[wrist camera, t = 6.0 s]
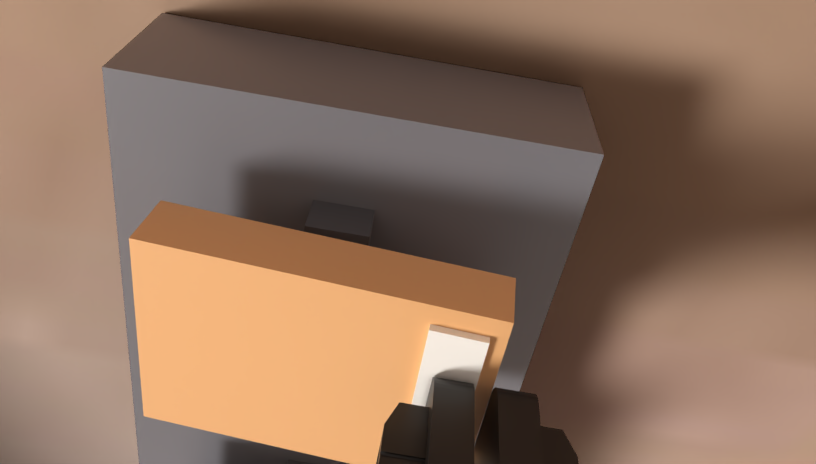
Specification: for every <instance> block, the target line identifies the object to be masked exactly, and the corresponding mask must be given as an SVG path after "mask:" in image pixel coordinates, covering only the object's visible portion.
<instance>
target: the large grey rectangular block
mask: <svg viewBox="0 0 816 464" xmlns="http://www.w3.org/2000/svg"><path fill="white" fill-rule="evenodd" d="M102 71H103V82H104V92H105V103H106V114H107V124H108V135H109V146H110V156H111V167H112V178H113V189H114V199H115V210H116V221H117V231H118V242H119V253H120V264H121V274H122V285H123V296H124V306H125V317H126V328H127V339H128V349H129V360H130V371H131V381H132V392H133V403H134V413H135V424H136V435H137V446H138V456H139V464H349V463H345V462H340V461H336V460H332V459H327V458H323V457H319V456H314V455H310V454H306V453H301V452H297V451H293V450H288V449H284V448H280V447H275V446H271V445H267V444H262V443H258V442H253V441H249V440H245V439H240V438H236V437H232V436H227V435H223V434H219V433H214V432H210V431H206V430H201V429H197V428H193V427H188V426H184V425H180V424H175V423H171V422H167V421H162V420H158V419H154V418H149V417H145V416H144V415H143V403H142V391H141V378H140V366H139V354H138V342H137V330H136V318H135V306H134V294H133V282H132V270H131V257H130V245H129V237H130V236H131V235H132V234H133V233H134V231H135V230H136V229H137V228H138V227H139V225H140V224H141V223H142V222H143V221H144V220H145V218H146V217H147V216H148V215H149V214H150V212H151V211H152V210H153V209H154V208H155V206H156V205H157V204H158V203H159V202H160V201H161V200H162V201H167V202H171V203H176V204H180V205H185V206H189V207H194V208H198V209H203V210H208V211H212V212H217V213H221V214H226V215H230V216H235V217H240V218H244V219H249V220H253V221H258V222H262V223H267V224H271V225H276V226H281V227H285V228H290V229H294V230H299V231H303V232H308V233H313V234H317V235H322V236H326V237H331V238H335V239H340V240H344V241H349V242H354V243H358V244H363V245H367V246H372V247H376V248H381V249H386V250H390V251H395V252H399V253H404V254H408V255H413V256H417V257H422V258H427V259H431V260H436V261H440V262H445V263H449V264H454V265H459V266H463V267H468V268H472V269H477V270H481V271H486V272H490V273H495V274H500V275H504V276H509V277H513V278H516V288H515V312H514V325H513V328H512V331H511V334H510V337H509V340H508V343H507V346H506V349H505V352H504V356H503V359H502V362H501V365H500V368H499V371H498V374H497V377H496V380H495V383H494V386H493V389H494V388H495V387H496V388H502V389H508V390H514V391H520V388H521V385H522V382H523V380H524V377H525V374H526V371H527V369H528V366H529V363H530V360H531V357H532V355H533V352H534V349H535V346H536V344H537V341H538V338H539V335H540V332H541V330H542V327H543V324H544V321H545V318H546V316H547V313H548V310H549V307H550V305H551V302H552V299H553V296H554V293H555V291H556V288H557V285H558V282H559V279H560V277H561V274H562V271H563V268H564V266H565V263H566V260H567V257H568V254H569V252H570V249H571V246H572V243H573V240H574V238H575V235H576V232H577V229H578V227H579V224H580V221H581V218H582V215H583V213H584V210H585V207H586V204H587V202H588V199H589V196H590V193H591V190H592V188H593V185H594V182H595V179H596V176H597V174H598V171H599V168H600V165H601V163H602V160H603V157H604V152H603V149H602V146H601V143H600V140H599V137H598V134H597V131H596V128H595V125H594V122H593V119H592V116H591V113H590V109H589V106H588V103H587V100H586V97H585V94H584V91H583V88H582V87H576V86H570V85H565V84H559V83H553V82H548V81H542V80H537V79H531V78H525V77H520V76H514V75H508V74H503V73H497V72H492V71H486V70H480V69H475V68H469V67H464V66H458V65H452V64H447V63H441V62H435V61H430V60H424V59H419V58H413V57H407V56H402V55H396V54H390V53H385V52H379V51H374V50H368V49H362V48H357V47H351V46H345V45H340V44H334V43H329V42H323V41H317V40H312V39H306V38H301V37H295V36H289V35H284V34H278V33H272V32H267V31H261V30H256V29H250V28H244V27H239V26H233V25H227V24H222V23H216V22H211V21H205V20H199V19H194V18H188V17H182V16H177V15H171V14H166V13H162V14H161V15H159V16H158V17H157V18H156V19H155V20H154V21H153V22H152V23H151V24H149V25H148V26H147V27H146V28H145V29H144V30H143V31H142V32H141V33H139V34H138V35H137V36H136V37H135V38H134V39H133V40H132V41H130V42H129V43H128V44H127V45H126V46H125V47H124V48H123V49H122V50H120V51H119V52H118V53H117V54H116V55H115V56H114V57H113V58H112V59H110V60H109V61H108V62H107V63H106V64H105V65H104V66H103V67H102ZM493 389H492V390H493ZM491 393H492V392H491ZM490 396H491V395H490ZM489 399H490V398H489ZM488 402H489V401H488ZM487 405H488V404H487ZM480 427H481V426H480ZM479 430H480V429H479ZM478 433H479V432H478ZM477 436H478V435H477ZM476 439H477V438H476ZM475 442H476V441H475ZM474 446H475V444H474Z"/></svg>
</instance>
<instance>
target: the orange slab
mask: <svg viewBox="0 0 816 464" xmlns="http://www.w3.org/2000/svg"><path fill="white" fill-rule="evenodd" d="M129 245H130V257H131V270H132V282H133V294H134V306H135V318H136V330H137V342H138V354H139V366H140V378H141V391H142V403H143V415H144V416H145V417H149V418H154V419H158V420H162V421H167V422H171V423H175V424H180V425H184V426H188V427H193V428H197V429H201V430H206V431H210V432H214V433H219V434H223V435H227V436H232V437H236V438H240V439H245V440H249V441H253V442H258V443H262V444H267V445H271V446H275V447H280V448H284V449H288V450H293V451H297V452H301V453H306V454H310V455H314V456H319V457H323V458H327V459H332V460H336V461H340V462H345V463H349V464H376V462H377V457H378V452H379V447H380V442H381V437H382V433H383V428H384V424H385V422H386V421H387V419H388V418H389V416H390V415H391V414H392V412H393V411H394V409H395V408H396V406H397V405H398V404H399V402H401V403H407V404H413V405H419V406H426V402H427V398H428V394H429V390H430V386H431V382H432V378H433V377H437V378H443V379H449V380H455V381H461V382H467V383H472V384H474V388H475V441H476V438H477V435H478V432H479V429H480V426H481V423H482V420H483V417H484V414H485V411H486V408H487V404H488V401H489V398H490V395H491V392H492V389H493V386H494V383H495V380H496V377H497V374H498V371H499V368H500V365H501V362H502V359H503V356H504V352H505V349H506V346H507V343H508V340H509V337H510V334H511V331H512V328H513V325H514V312H515V288H516V278H513V277H509V276H504V275H500V274H495V273H490V272H486V271H481V270H477V269H472V268H468V267H463V266H459V265H454V264H449V263H445V262H440V261H436V260H431V259H427V258H422V257H417V256H413V255H408V254H404V253H399V252H395V251H390V250H386V249H381V248H376V247H372V246H367V245H363V244H358V243H354V242H349V241H344V240H340V239H335V238H331V237H326V236H322V235H317V234H313V233H308V232H303V231H299V230H294V229H290V228H285V227H281V226H276V225H271V224H267V223H262V222H258V221H253V220H249V219H244V218H240V217H235V216H230V215H226V214H221V213H217V212H212V211H208V210H203V209H198V208H194V207H189V206H185V205H180V204H176V203H171V202H167V201H162V200H161V201H160V202H159V203H158V204H157V205H156V206H155V208H154V209H153V210H152V211H151V212H150V214H149V215H148V216H147V217H146V218H145V220H144V221H143V222H142V223H141V224H140V225H139V227H138V228H137V229H136V230H135V231H134V233H133V234H132V235H131V236H130V237H129ZM474 444H475V442H474Z"/></svg>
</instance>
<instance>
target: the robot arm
mask: <svg viewBox="0 0 816 464" xmlns="http://www.w3.org/2000/svg"><path fill="white" fill-rule="evenodd" d="M474 442H475V388H474V384H472V383H467V382H461V381H455V380H449V379H443V378H437V377H433V378H432V382H431V386H430V390H429V394H428V398H427V402H426V406H419V405H413V404H407V403H401V402H399V404H398V405H397V406H396V408H395V409H394V411H393V412H392V414H391V415H390V416H389V418H388V419H387V421H386V422H385V424H384V428H383V433H382V437H381V442H380V447H379V452H378V457H377V462H376V464H578V457H577V455H576V453H575V451H574V450H573V448H572V446H571V444H570V443H569V441H568V439H567V437H566V436H565V434H564V432H563V430H560V429H554V428H548V427H542V426H540V415H539V404H538V398H537V395H536V394H531V393H525V392H520V391H514V390H508V389H502V388H496V387H495V388H494V389H493V390H492V393H491V396H490V399H489V402H488V405H487V408H486V411H485V414H484V417H483V420H482V423H481V427H480V430H479V433H478V436H477V439H476V442H475V446H474Z"/></svg>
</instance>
